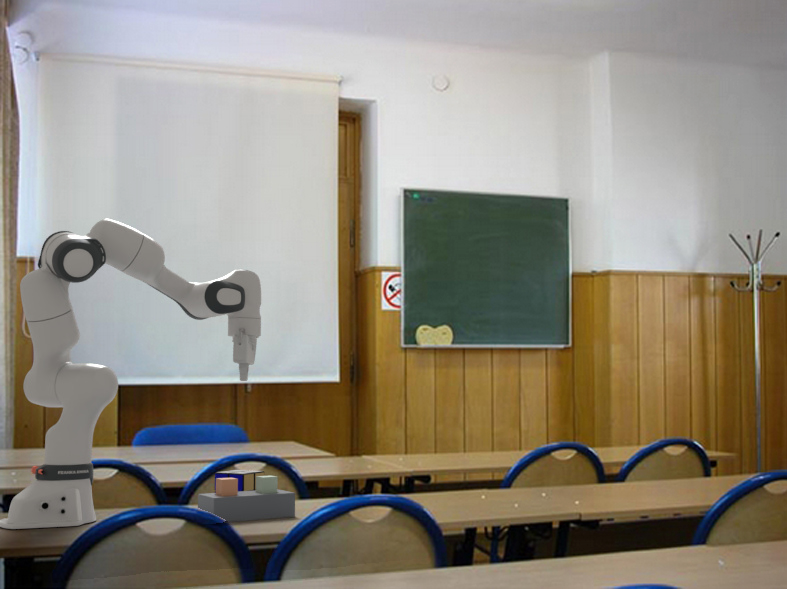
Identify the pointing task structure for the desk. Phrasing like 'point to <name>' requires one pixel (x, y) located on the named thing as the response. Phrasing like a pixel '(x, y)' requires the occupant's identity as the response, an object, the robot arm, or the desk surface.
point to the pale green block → (266, 484)
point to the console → (249, 505)
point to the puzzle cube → (241, 478)
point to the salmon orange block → (226, 486)
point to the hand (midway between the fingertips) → (243, 381)
